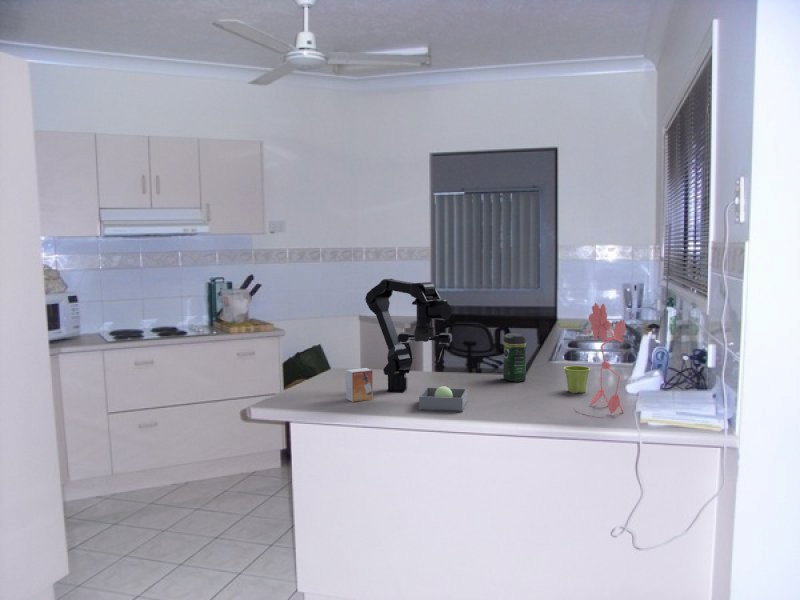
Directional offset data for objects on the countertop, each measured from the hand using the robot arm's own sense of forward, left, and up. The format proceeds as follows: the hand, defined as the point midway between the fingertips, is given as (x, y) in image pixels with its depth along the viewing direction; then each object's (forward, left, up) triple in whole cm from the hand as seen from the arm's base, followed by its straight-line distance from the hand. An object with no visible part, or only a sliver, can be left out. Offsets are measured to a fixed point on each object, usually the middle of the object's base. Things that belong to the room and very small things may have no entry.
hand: (425, 361), depth 238 cm
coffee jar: (+30, +34, -13) cm, 47 cm away
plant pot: (+53, +17, -13) cm, 57 cm away
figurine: (+58, -10, -13) cm, 60 cm away
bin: (+8, -12, -12) cm, 20 cm away
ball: (+8, -13, -12) cm, 19 cm away
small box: (-22, -8, -13) cm, 27 cm away
